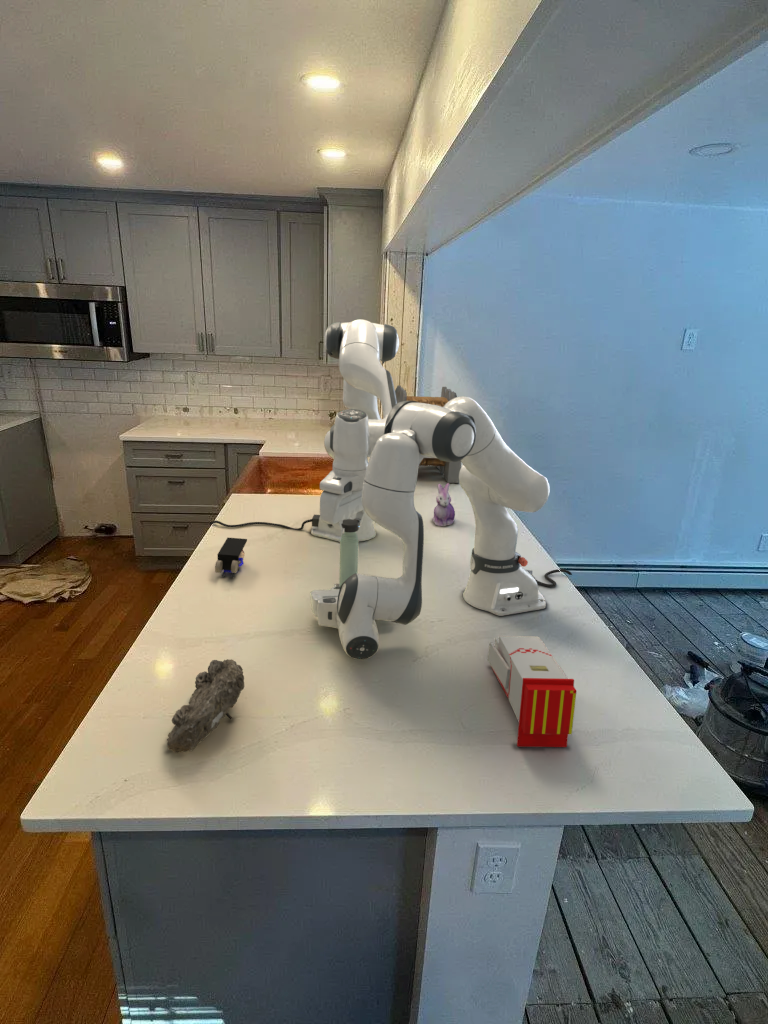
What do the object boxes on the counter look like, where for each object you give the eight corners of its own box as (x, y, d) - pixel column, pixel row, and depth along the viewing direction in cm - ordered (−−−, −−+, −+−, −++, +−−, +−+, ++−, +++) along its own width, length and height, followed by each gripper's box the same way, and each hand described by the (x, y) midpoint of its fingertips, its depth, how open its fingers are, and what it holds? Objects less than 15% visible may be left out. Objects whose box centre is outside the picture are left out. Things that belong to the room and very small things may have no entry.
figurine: (440, 528, 206) (443, 489, 201) (425, 519, 214) (428, 481, 209) (461, 525, 210) (465, 486, 205) (446, 516, 219) (449, 478, 214)
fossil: (192, 660, 117) (244, 628, 112) (224, 691, 120) (276, 661, 115) (142, 746, 98) (202, 712, 93) (182, 779, 101) (242, 748, 96)
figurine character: (238, 584, 162) (249, 557, 175) (236, 562, 158) (247, 536, 172) (215, 584, 161) (227, 556, 175) (212, 561, 158) (225, 535, 171)
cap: (347, 524, 146) (347, 517, 146) (362, 528, 144) (362, 521, 143) (336, 529, 143) (337, 522, 142) (351, 534, 140) (352, 526, 140)
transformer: (382, 463, 289) (386, 382, 275) (445, 464, 293) (451, 384, 279) (390, 482, 257) (394, 392, 243) (460, 483, 261) (468, 394, 247)
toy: (536, 619, 129) (586, 686, 99) (531, 673, 131) (578, 754, 102) (483, 618, 128) (517, 685, 99) (479, 672, 131) (511, 753, 102)
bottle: (344, 599, 154) (345, 520, 146) (359, 603, 152) (362, 523, 144) (335, 606, 150) (337, 526, 142) (351, 611, 148) (353, 529, 140)
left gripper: (362, 466, 149) (360, 515, 153) (315, 484, 132) (315, 539, 137) (383, 470, 146) (380, 520, 150) (337, 489, 129) (336, 545, 134)
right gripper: (396, 598, 138) (386, 573, 150) (311, 602, 134) (309, 576, 147) (395, 621, 140) (385, 594, 153) (311, 625, 136) (309, 597, 149)
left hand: (349, 530), depth 143 cm, fingers open, 7 cm apart
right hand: (347, 585), depth 150 cm, fingers closed on bottle, 5 cm apart
